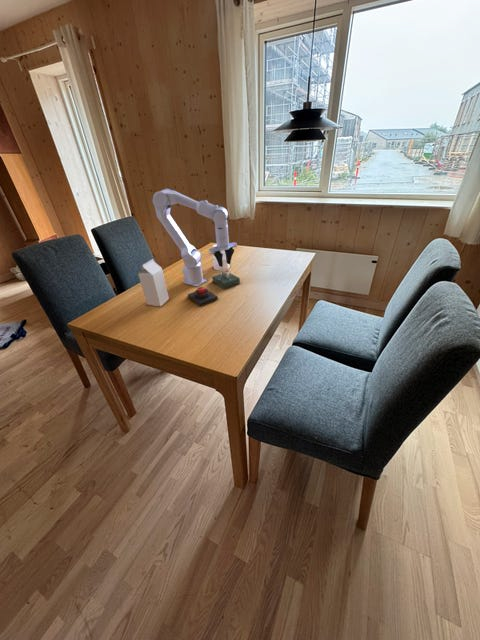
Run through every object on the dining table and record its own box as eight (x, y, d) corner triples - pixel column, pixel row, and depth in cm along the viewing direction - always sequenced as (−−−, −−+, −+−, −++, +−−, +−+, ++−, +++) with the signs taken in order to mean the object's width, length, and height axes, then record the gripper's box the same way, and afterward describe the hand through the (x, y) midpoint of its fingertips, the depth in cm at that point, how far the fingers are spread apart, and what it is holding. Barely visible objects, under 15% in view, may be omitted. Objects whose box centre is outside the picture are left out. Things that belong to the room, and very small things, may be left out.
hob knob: (221, 276, 132) (221, 268, 129) (224, 275, 132) (223, 268, 130) (227, 279, 128) (226, 271, 126) (229, 278, 129) (229, 270, 127)
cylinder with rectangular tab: (232, 265, 150) (231, 245, 144) (223, 271, 144) (221, 250, 138) (220, 263, 155) (218, 242, 148) (210, 268, 148) (208, 247, 142)
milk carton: (169, 299, 120) (160, 259, 110) (160, 306, 115) (150, 265, 104) (156, 297, 123) (145, 258, 112) (146, 304, 117) (135, 264, 107)
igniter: (188, 297, 121) (186, 290, 119) (204, 291, 125) (204, 284, 123) (200, 306, 113) (199, 299, 112) (217, 299, 118) (216, 292, 116)
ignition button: (196, 292, 118) (195, 288, 117) (203, 289, 120) (202, 286, 119) (200, 295, 116) (199, 291, 115) (207, 292, 117) (206, 288, 116)
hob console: (212, 281, 134) (212, 276, 132) (227, 276, 138) (226, 271, 136) (225, 289, 126) (224, 283, 124) (239, 283, 131) (239, 277, 129)
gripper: (213, 241, 113) (216, 271, 121) (240, 234, 120) (241, 263, 128) (205, 238, 118) (208, 267, 125) (231, 231, 125) (233, 259, 133)
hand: (224, 264), depth 127 cm, fingers open, 4 cm apart
